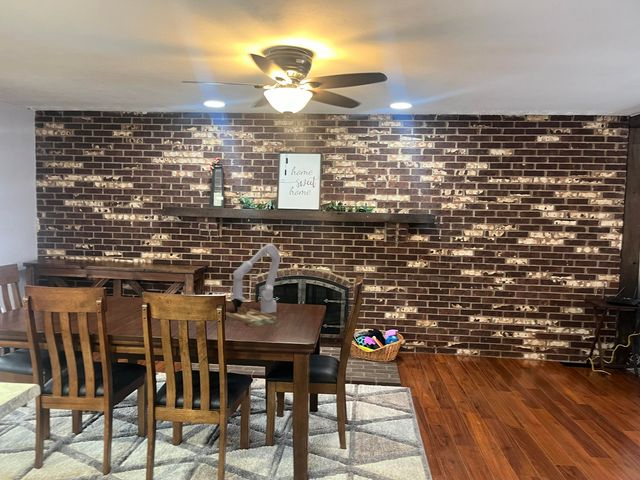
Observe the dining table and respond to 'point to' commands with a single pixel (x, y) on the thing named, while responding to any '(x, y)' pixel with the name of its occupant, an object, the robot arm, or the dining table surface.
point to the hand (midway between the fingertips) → (237, 311)
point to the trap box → (254, 318)
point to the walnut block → (242, 310)
